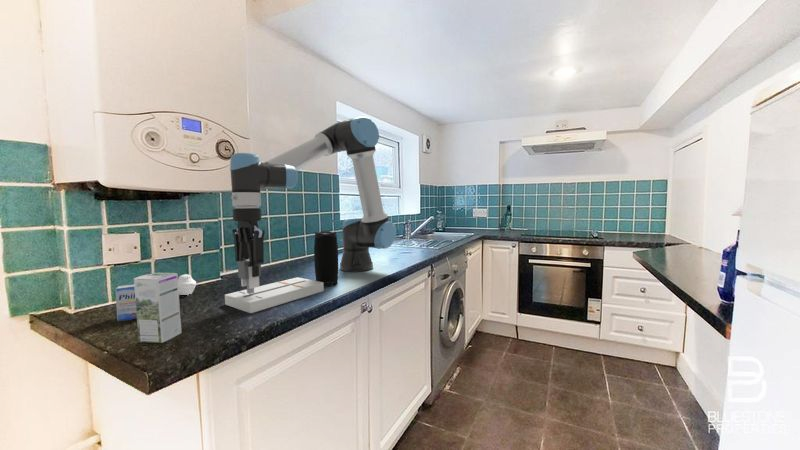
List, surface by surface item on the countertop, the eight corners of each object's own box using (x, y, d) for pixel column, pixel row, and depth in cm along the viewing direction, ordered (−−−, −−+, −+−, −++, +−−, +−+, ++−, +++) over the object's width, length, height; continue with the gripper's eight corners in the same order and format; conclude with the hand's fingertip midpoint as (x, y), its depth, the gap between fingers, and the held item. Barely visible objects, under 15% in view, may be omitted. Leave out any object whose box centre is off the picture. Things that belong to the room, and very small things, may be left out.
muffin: (197, 295, 103) (196, 274, 103) (174, 298, 100) (173, 277, 99) (196, 290, 108) (194, 271, 108) (174, 294, 105) (173, 273, 104)
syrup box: (182, 333, 73) (179, 271, 72) (161, 344, 67) (156, 277, 66) (160, 332, 73) (156, 271, 72) (136, 343, 67) (132, 277, 66)
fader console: (297, 285, 115) (297, 276, 114) (323, 290, 107) (323, 281, 106) (225, 304, 93) (224, 294, 93) (250, 313, 85) (250, 302, 85)
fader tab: (255, 290, 95) (253, 258, 95) (261, 291, 93) (260, 259, 93) (239, 294, 91) (237, 260, 91) (245, 296, 89) (244, 261, 89)
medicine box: (116, 322, 80) (114, 289, 79) (120, 316, 84) (118, 285, 83) (155, 315, 84) (153, 284, 84) (157, 311, 88) (155, 281, 88)
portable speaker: (315, 288, 110) (313, 233, 109) (315, 281, 119) (314, 231, 118) (339, 286, 112) (338, 232, 111) (338, 280, 121) (336, 230, 120)
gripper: (219, 207, 92) (223, 285, 94) (250, 207, 83) (253, 294, 84) (244, 207, 98) (247, 280, 100) (275, 207, 89) (278, 287, 91)
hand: (250, 286), depth 92 cm, fingers closed on fader tab, 3 cm apart
